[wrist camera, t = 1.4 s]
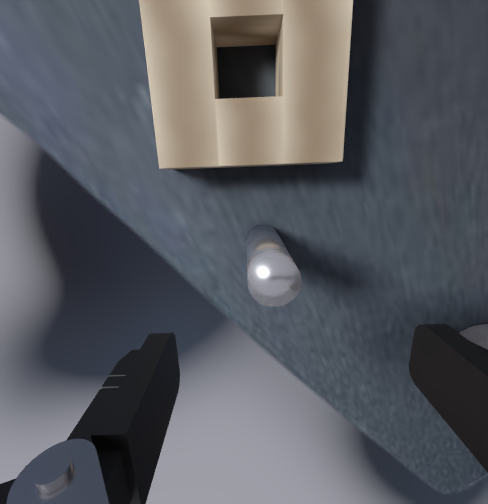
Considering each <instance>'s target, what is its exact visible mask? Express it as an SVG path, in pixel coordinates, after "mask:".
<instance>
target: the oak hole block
mask: <svg viewBox="0 0 488 504" xmlns="http://www.w3.org/2000/svg"><path fill="white" fill-rule="evenodd" d="M139 3H140V12H141V20H142V28H143V37H144V45H145V53H146V62H147V70H148V78H149V86H150V95H151V103H152V111H153V120H154V128H155V136H156V145H157V153H158V161H159V168H160V169H173V170H176V169H202V168H228V167H254V166H280V165H306V164H328V163H335V162H342V161H343V149H344V134H345V118H346V103H347V87H348V72H349V56H350V41H351V25H352V10H353V0H139ZM259 45H276V97H252V98H228V99H219V82H218V64H217V47H235V46H259Z"/></svg>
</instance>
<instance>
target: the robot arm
mask: <svg viewBox="0 0 488 504" xmlns="http://www.w3.org/2000/svg"><path fill="white" fill-rule="evenodd" d="M409 371H410V375H411V378H412V380H413V382H414V383H415V385H416V386H417V387H418V389H419V390H420V391H421V392H422V393H423V395H424V396H425V397H426V398H427V400H428V401H429V402H430V403H431V404H432V406H433V407H434V408H435V409H436V410H437V412H438V413H439V414H440V415H441V417H442V418H443V419H444V420H445V421H446V423H447V424H448V425H449V426H450V427H451V429H452V430H453V431H454V432H455V433H456V435H457V436H458V437H459V438H460V440H461V441H462V442H463V443H464V444H465V446H466V447H467V448H468V449H469V450H470V452H471V453H472V454H473V455H474V457H475V458H476V459H477V460H478V461H479V463H480V464H481V465H482V466H483V467H484V469H485V470H486V471H487V472H488V350H487V349H485V348H483V347H481V346H479V345H477V344H475V343H473V342H471V341H469V340H468V339H466V338H465V337H463V336H462V335H461V334H459V333H458V332H457V331H455V330H454V329H452V328H451V327H450V326H448V325H446V324H424V325H418V326H417V327H416V329H415V332H414V338H413V344H412V350H411V355H410V361H409ZM179 382H180V370H179V363H178V354H177V346H176V339H175V335H174V333H151V334H149V335H148V337H147V339H146V340H145V342H144V344H143V346H142V347H141V349H140V350H132V351H131V352H129V353H128V354H127V355H126V356H124V357H123V358H122V359H121V360H120V361H118V363H117V364H116V366H115V367H114V369H113V371H112V372H111V374H110V377H109V378H107V380H106V381H105V383H104V384H103V386H102V389H100V390H99V392H98V393H97V395H96V396H95V398H94V399H93V401H92V402H91V404H90V405H89V407H88V408H87V410H86V411H85V413H84V414H83V416H82V418H81V419H80V421H79V422H78V424H77V425H76V427H75V428H74V430H73V431H72V433H71V434H70V436H69V437H68V439H67V440H66V441H64V442H61V443H58V444H56V445H54V446H52V447H50V448H48V449H47V450H45V451H44V452H42V453H41V454H40V455H38V456H37V457H36V458H34V459H33V460H32V461H31V462H30V463H29V464H28V465H27V466H26V467H25V468H24V469H23V470H22V472H21V473H20V474H19V475H18V477H17V478H16V479H13V480H11V481H8V482H5V483H2V484H0V504H145V503H146V500H147V496H148V493H149V490H150V486H151V483H152V480H153V476H154V472H155V469H156V466H157V462H158V459H159V456H160V452H161V449H162V445H163V442H164V438H165V435H166V431H167V428H168V425H169V421H170V418H171V414H172V411H173V407H174V404H175V401H176V397H177V394H178V390H179Z"/></svg>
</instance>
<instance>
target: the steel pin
mask: <svg viewBox="0 0 488 504" xmlns="http://www.w3.org/2000/svg"><path fill="white" fill-rule="evenodd" d="M246 246H247V272H248V288H249V291H250V293H251V295H252V296H253V298H254V299H255V300H256V301H258V302H259V303H261V304H263V305H266V306H270V307H277V306H282V305H285V304H287V303H289V302H290V301H292V300H293V299H294V298H295V297H296V296H297V294H298V293H299V291H300V288H301V282H302V281H301V274H300V272H299V270H298V268H297V266H296V264H295V263H294V261H293V259H292V258H291V256H290V254H289V252H288V251H287V249H286V247H285V245H284V244H283V242H282V240H281V238H280V237H279V235H278V233H277V232H276V230H275V229H274V228H273V227H271V226H269V225H267V224H259V225H256V226H254V227H253V228H252V229H251V230H250V231H249V232H248V234H247V238H246Z"/></svg>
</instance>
